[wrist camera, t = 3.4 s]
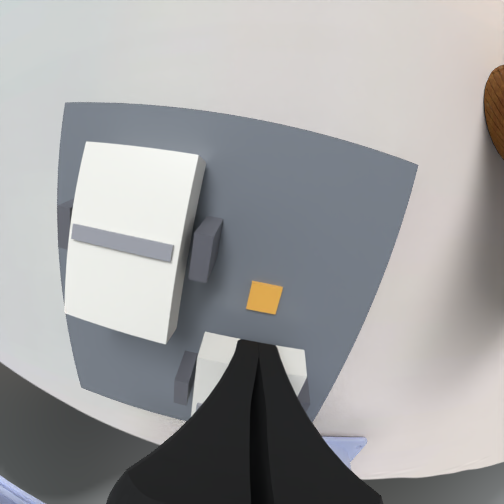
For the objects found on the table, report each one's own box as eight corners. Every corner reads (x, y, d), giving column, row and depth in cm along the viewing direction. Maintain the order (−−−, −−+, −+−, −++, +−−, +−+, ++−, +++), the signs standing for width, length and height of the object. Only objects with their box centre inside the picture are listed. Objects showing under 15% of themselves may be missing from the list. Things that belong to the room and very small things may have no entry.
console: (299, 403, 18) (303, 465, 14) (96, 357, 18) (64, 407, 14) (389, 157, 13) (445, 173, 8) (96, 105, 12) (29, 102, 8)
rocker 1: (176, 328, 11) (165, 346, 9) (83, 302, 11) (62, 314, 9) (206, 163, 10) (197, 154, 8) (105, 149, 10) (83, 140, 8)
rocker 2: (269, 427, 14) (268, 452, 13) (194, 414, 14) (188, 439, 13) (304, 349, 12) (307, 379, 10) (205, 331, 12) (196, 359, 10)
